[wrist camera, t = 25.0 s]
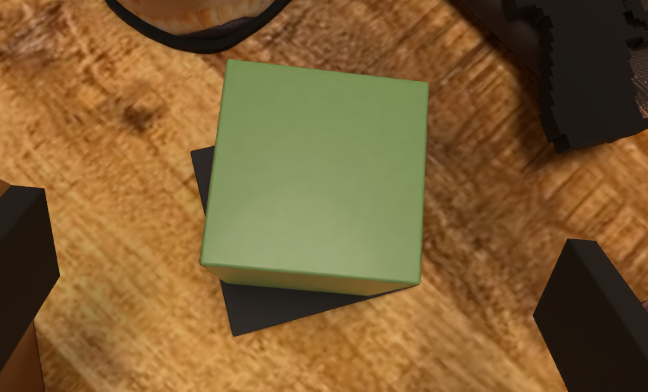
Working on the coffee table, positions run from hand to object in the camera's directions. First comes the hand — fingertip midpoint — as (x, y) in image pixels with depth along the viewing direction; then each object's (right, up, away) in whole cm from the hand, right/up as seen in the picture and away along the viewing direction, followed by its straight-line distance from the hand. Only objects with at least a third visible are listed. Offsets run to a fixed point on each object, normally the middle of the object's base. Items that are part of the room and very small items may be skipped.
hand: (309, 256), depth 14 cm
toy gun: (+16, +5, +9) cm, 19 cm away
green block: (0, +1, +9) cm, 9 cm away
